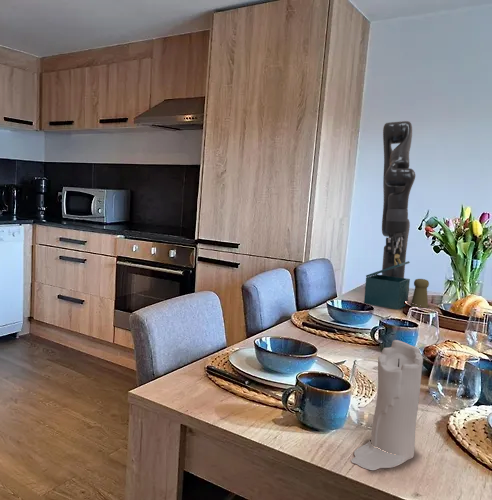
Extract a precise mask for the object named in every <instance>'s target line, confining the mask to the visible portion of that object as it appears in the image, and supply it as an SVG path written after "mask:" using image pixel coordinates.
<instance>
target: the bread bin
mask: <svg viewBox="0 0 492 500" xmlns="http://www.w3.org/2000/svg"><path fill="white" fill-rule="evenodd" d="M410 282H411V279H410V278H405V277H404V278H399V277H392V276H385V275H382V274H376V275H373V276H369V277H366V276H365V286H364V298H363V304H364V303H366V304H365V305H369V306H370V305H371V306H374V307H375V306H376V307H381V308H387V309H391V310H400V309H402V308H404V307H407V306H406V304H404V302H405V301H408V302H409V293H410Z"/></svg>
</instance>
